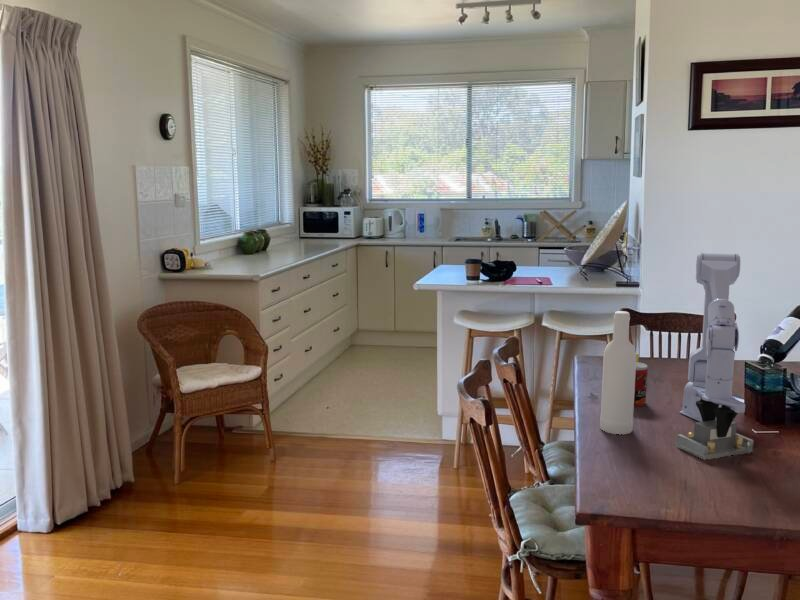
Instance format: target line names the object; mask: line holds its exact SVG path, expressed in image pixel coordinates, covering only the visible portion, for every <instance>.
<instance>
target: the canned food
mask: <svg viewBox="0 0 800 600" xmlns="http://www.w3.org/2000/svg"><path fill="white" fill-rule="evenodd" d="M648 372H649V371H648V365H647V364H646V363H643V362H639V361H638V362H636V373H635V391H634V407H641V406H644V405H645V404H646V402H647V385H648Z"/></svg>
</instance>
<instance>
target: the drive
mask: <svg viewBox="0 0 800 600" xmlns="http://www.w3.org/2000/svg"><path fill="white" fill-rule="evenodd" d="M737 426H738V423H737V422H735V421H734V420H733V421H732V423H731V425H730V428H729V430H728V433H727V436H726V437H721V438H719V437H717V420H712V421H704V422H700V421H698V422H694V427H693V432H694V441H697V442H699V443H701V444H703V445H705V446H707V442H708V441H714V442H715V449H717V448H724V447H730V446H735V437H736V433H737Z"/></svg>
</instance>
